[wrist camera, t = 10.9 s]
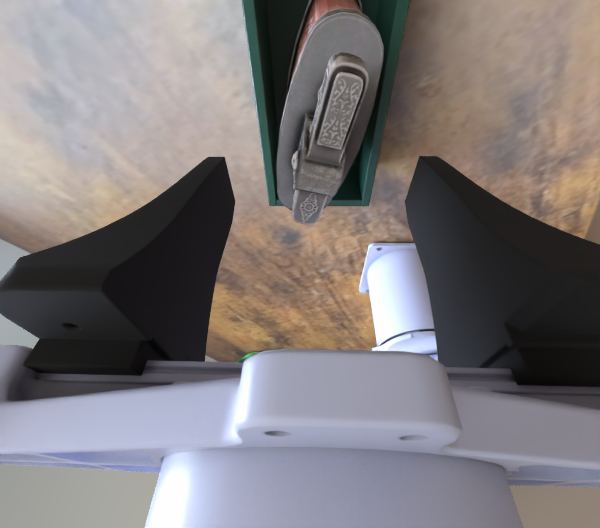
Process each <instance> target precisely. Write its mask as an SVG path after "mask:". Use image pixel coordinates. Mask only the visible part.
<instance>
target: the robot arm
mask: <svg viewBox="0 0 600 528" xmlns="http://www.w3.org/2000/svg"><path fill="white" fill-rule="evenodd" d="M405 205H406V212H407V218H408V224H409V227H410V230H411V233H412V236H413V240H414V243H372V244H370V245H369V246H368V250H367V255H366V259H365V264H364V268H363V272H362V277H361V281H360V285H359V292H360V293H370V299H371V306H372V313H373V320H374V327H375V333H376V340H377V347H375V348H372V350H325V349H278V350H267V351H262V352H260V353H258V354H256V355H253V356H251V357H249V358H248V359H246V360H245V361H244V363H239V362H205V352H206V342H207V334H208V326H209V318H210V312H211V305H212V298H213V292H214V287H215V281H216V276H217V272H218V268H219V264H220V261H221V258H222V254H223V251H224V248H225V245H226V241H227V238H228V235H229V231H230V228H231V224H232V219H233V213H234V206H235V199H234V195H233V190H232V186H231V182H230V178H229V174H228V170H227V165H226V161H225V157H208V158H206V159H205V160H203V161H202V162H201V163H200V164H198V165H197V166H196V167H195V168H194V169H192V170H191V171H190V172H189V173H188V174H186V175H185V176H184V177H183V178H181V179H180V180H179V181H178V182H177V183H175V184H174V185H173V186H171V187H170V188H169V189H167V190H166V191H165V192H163V193H162V194H161V195H159V196H158V197H157V198H155V199H154V200H152V201H151V202H149V203H148V204H146V205H144V206H143V207H141V208H139V209H138V210H136V211H134V212H133V213H131V214H129V215H127V216H125V217H123V218H121V219H119V220H117V221H115V222H113V223H111V224H109V225H107V226H105V227H103V228H101V229H99V230H96V231H94V232H92V233H89V234H87V235H85V236H82V237H79V238H77V239H74V240H72V241H69V242H66V243H63V244H61V245H58V246H55V247H52V248H48V249H45V250H42V251H39V252H36V253H33V254H30V255H27V256H23V257H20V258H19V259H18V260H17V262H16V263H15V264H14V265H13V266H12V268H11V269H10V270H9V271H8V272H7V274H6V275H5V276H4V277H3V278H2V280H1V281H0V314H2V315H3V316H4V317H6V318H7V319H9V320H11V321H12V322H14V323H15V324H17V325H19V326H20V327H22V328H23V329H25V330H27V331H28V332H30V333H31V334H33V335H35V336H36V337H38V338H40V339H39V341H38V342H37V344H36V345H35V347H34V348H33V349H32V348H29V347H25V346H18V345H0V464H6V465H32V466H51V467H69V468H87V469H103V470H120V471H136V472H152V473H160V474H159V478H158V481H157V485H156V489H155V492H154V496H153V499H152V503H151V507H150V511H149V514H148V518H147V521H146V525H145V528H523V525H522V522H521V519H520V516H519V514H518V511H517V507H516V505H515V502H514V499H513V496H512V493H511V490H510V487H509V486H576V487H600V245H599V244H596V243H593V242H591V241H588V240H585V239H582V238H579V237H577V236H574V235H572V234H569V233H566V232H564V231H562V230H559V229H557V228H555V227H552V226H550V225H548V224H545V223H543V222H541V221H539V220H537V219H534V218H532V217H530V216H528V215H526V214H525V213H523V212H521V211H519V210H517V209H515V208H513V207H511V206H510V205H508V204H506V203H504V202H503V201H501V200H500V199H498V198H496V197H495V196H493V195H492V194H490V193H489V192H487V191H486V190H484V189H483V188H481V187H480V186H478V185H477V184H475V183H474V182H473V181H471V180H470V179H468V178H467V177H466V176H464V175H463V174H462V173H460V172H459V171H458V170H456V169H455V168H454V167H452V166H451V165H449V164H448V163H447V162H445V161H444V160H442V159H441V158H439V157H437V156H419V160H418V163H417V166H416V169H415V172H414V175H413V178H412V182H411V185H410V188H409V191H408V194H407V197H406V200H405ZM379 247H380V248H379Z"/></svg>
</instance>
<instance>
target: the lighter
mask: <svg viewBox="0 0 600 528" xmlns="http://www.w3.org/2000/svg"><path fill="white" fill-rule="evenodd" d="M383 49H384V46H383V43H382V40H381V37H380V34H379V32H378V30H377V28H376V26H375V25H374V24H373V23H372V21H371V20H370V19H369V18H368V16H366V15H365V14H363V13H362V4H361V1H360V0H308V3H307V6H306V9H305V11H304V14H303V17H302V20H301V23H300V26H299V29H298V32H297V36H296V40H295V45H294V49H293V53H292V57H291V62H290V66H289V73H288V82H287V92H286V101H285V108H284V112H283V116H282V120H281V126H280V134H279V144H278V154H277V165H276V166H277V193H278V197H279V200H280V201H281V202H282V204H283V205H284V206H285V207H287V208H289V209H290V210H292V218H293V220H294V221H295V222H297V223H301V224H306V225H312V224H315V223H317V222H318V220H319V218H320V216H321V213H322V210H323V209H324V208H325V207H326V206H327V205H328V204H329V203H330V201H331V200H332V198H333V196H335V195H336V193H337V191H338V189H339V187H340V186H341V184H342V183H343V181H344V180H345V177H346V175H347V173H348V171H349V169H350V167H351V165H352V163H353V161H354V159H355V157H356V155H357V153H358V151H359V149H360V146H361V143H362V140H363V137H364V134H365V131H366V128H367V125H368V122H369V119H370V116H371V113H372V110H373V106H374V101H375V96H376V92H377V87H378V82H379V77H380V73H381V68H382V63H383Z"/></svg>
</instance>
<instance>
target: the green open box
mask: <svg viewBox="0 0 600 528" xmlns="http://www.w3.org/2000/svg"><path fill="white" fill-rule="evenodd" d="M360 1H361V4H362V13H363V14H365V15H366V16H368V18H369V19H370V20H371V21H372V23H373V24H374V25H375V26H376V28H377V30H378V32H379V34H380V37H381V40H382V43H383V46H384V49H383V63H382V68H381V73H380V77H379V82H378V87H377V92H376V96H375V101H374V106H373V110H372V113H371V116H370V119H369V122H368V125H367V128H366V131H365V134H364V137H363V140H362V143H361V146H360V149H359V151H358V153H357V155H356V157H355V159H354V161H353V163H352V165H351V167H350V169H349V171H348V173H347V175H346V177H345V180H344V181H343V183H342V184H341V186H340V187H339V189H338V191H337V193H336V195H335V196H333V198H332V200H331V201H330V203H329V204H328V205H327V206H369V202H370V197H371V192H372V187H373V182H374V177H375V172H376V167H377V162H378V157H379V152H380V147H381V142H382V137H383V132H384V127H385V122H386V117H387V112H388V107H389V102H390V97H391V92H392V87H393V82H394V77H395V72H396V67H397V62H398V57H399V52H400V47H401V42H402V37H403V32H404V27H405V22H406V17H407V12H408V7H409V2H410V0H360ZM307 3H308V0H242V6H243V13H244V21H245V28H246V36H247V43H248V51H249V58H250V66H251V73H252V81H253V88H254V96H255V103H256V111H257V118H258V125H259V133H260V140H261V148H262V155H263V163H264V170H265V178H266V185H267V193H268V200H269V206H284V205H283V204H282V202H281V201H280V200H279V197H278V193H277V166H276V165H277V154H278V144H279V134H280V126H281V120H282V116H283V112H284V108H285V101H286V92H287V82H288V73H289V66H290V62H291V57H292V53H293V49H294V45H295V40H296V36H297V32H298V29H299V26H300V23H301V20H302V17H303V14H304V11H305V9H306V6H307Z"/></svg>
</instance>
